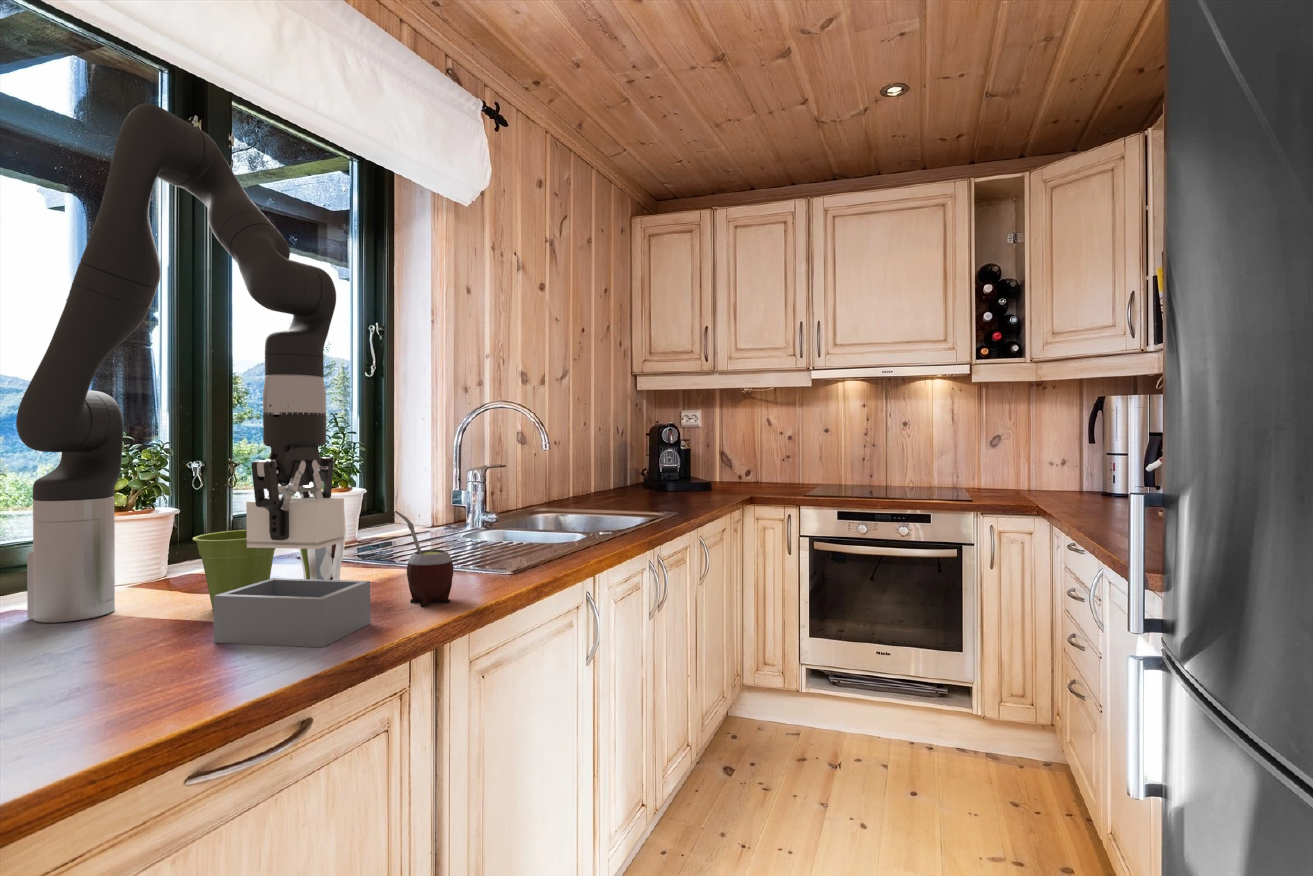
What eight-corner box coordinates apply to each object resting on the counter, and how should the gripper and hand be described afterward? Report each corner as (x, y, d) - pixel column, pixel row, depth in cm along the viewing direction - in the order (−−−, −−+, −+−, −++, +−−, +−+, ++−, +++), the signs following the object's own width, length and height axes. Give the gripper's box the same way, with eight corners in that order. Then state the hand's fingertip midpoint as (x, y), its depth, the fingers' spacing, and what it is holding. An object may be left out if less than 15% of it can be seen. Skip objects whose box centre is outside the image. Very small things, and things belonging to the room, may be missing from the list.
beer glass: (326, 605, 108) (326, 509, 108) (287, 603, 110) (287, 508, 110) (354, 595, 115) (354, 504, 115) (317, 593, 117) (317, 504, 116)
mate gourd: (459, 597, 114) (458, 505, 114) (442, 609, 106) (442, 511, 106) (413, 597, 114) (413, 505, 114) (394, 609, 106) (394, 510, 106)
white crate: (317, 548, 90) (317, 502, 90) (246, 547, 91) (246, 501, 91) (344, 541, 96) (344, 498, 96) (277, 540, 97) (277, 497, 97)
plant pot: (245, 595, 115) (244, 527, 115) (299, 601, 111) (299, 530, 111) (173, 612, 104) (173, 537, 104) (231, 619, 100) (230, 541, 100)
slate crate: (322, 647, 87) (322, 599, 87) (213, 642, 89) (213, 595, 89) (370, 623, 98) (370, 581, 98) (272, 620, 100) (272, 578, 100)
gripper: (303, 412, 101) (304, 528, 101) (230, 409, 87) (231, 544, 87) (351, 412, 100) (352, 529, 100) (285, 408, 86) (286, 545, 86)
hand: (296, 535), depth 94 cm, fingers closed on white crate, 6 cm apart
